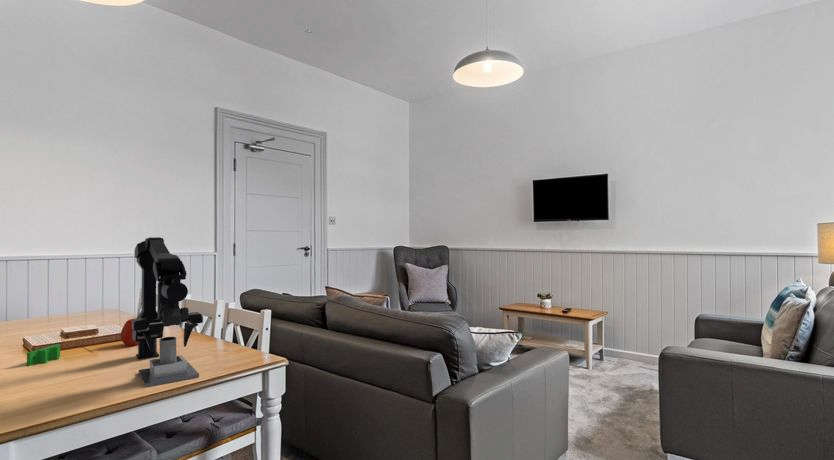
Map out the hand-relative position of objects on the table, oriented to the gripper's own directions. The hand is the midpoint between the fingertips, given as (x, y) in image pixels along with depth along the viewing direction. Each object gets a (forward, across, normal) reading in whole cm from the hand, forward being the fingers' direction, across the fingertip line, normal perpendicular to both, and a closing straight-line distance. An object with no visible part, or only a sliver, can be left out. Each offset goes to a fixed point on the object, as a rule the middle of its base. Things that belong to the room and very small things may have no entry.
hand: (168, 348), depth 140 cm
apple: (+8, -4, +50) cm, 51 cm away
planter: (+7, 0, 0) cm, 7 cm away
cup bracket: (+8, 0, 0) cm, 8 cm away
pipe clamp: (+8, -30, +43) cm, 53 cm away
